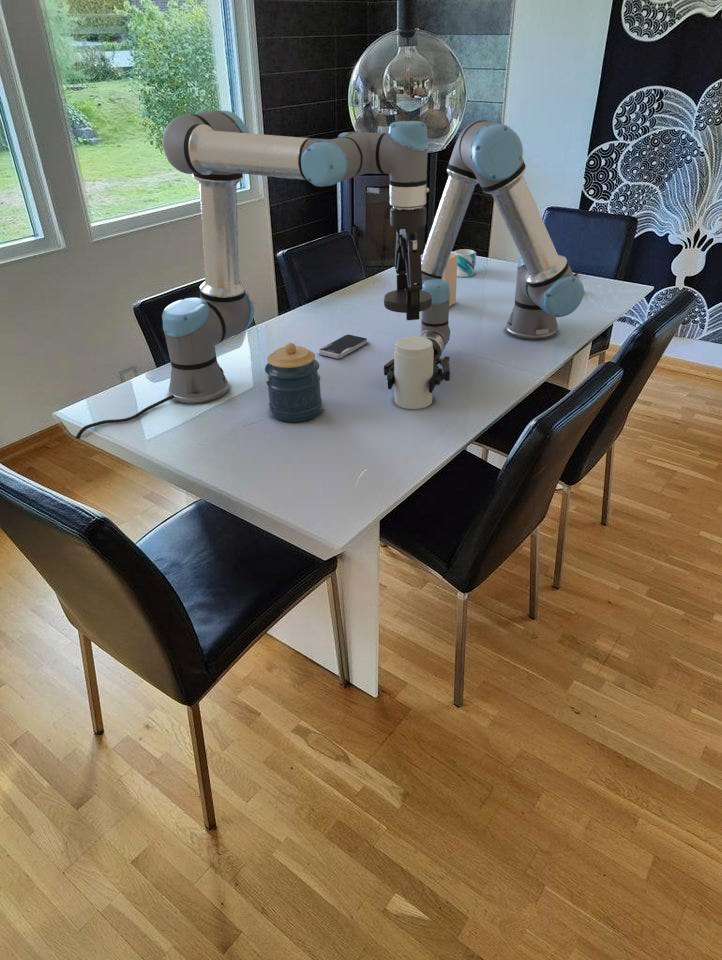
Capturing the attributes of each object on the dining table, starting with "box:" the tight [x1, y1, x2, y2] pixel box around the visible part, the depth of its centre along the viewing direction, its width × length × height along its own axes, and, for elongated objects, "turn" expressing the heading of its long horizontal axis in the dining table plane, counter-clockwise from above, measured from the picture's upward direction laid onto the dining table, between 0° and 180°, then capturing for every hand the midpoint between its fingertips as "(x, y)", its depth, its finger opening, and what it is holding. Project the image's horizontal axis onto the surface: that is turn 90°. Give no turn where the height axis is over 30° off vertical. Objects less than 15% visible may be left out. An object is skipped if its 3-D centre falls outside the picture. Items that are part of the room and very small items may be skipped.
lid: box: [383, 289, 432, 314], centre depth 149 cm, size 10×11×2 cm
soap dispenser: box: [442, 253, 458, 308], centre depth 225 cm, size 13×9×22 cm
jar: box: [393, 336, 434, 410], centre depth 165 cm, size 10×10×15 cm
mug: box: [453, 248, 477, 278], centre depth 259 cm, size 8×12×8 cm
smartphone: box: [318, 334, 368, 360], centre depth 199 cm, size 8×1×15 cm
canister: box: [264, 342, 323, 423], centre depth 161 cm, size 13×13×18 cm
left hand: (407, 311), depth 150 cm, fingers closed on lid, 10 cm apart
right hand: (409, 385), depth 162 cm, fingers closed on jar, 9 cm apart
